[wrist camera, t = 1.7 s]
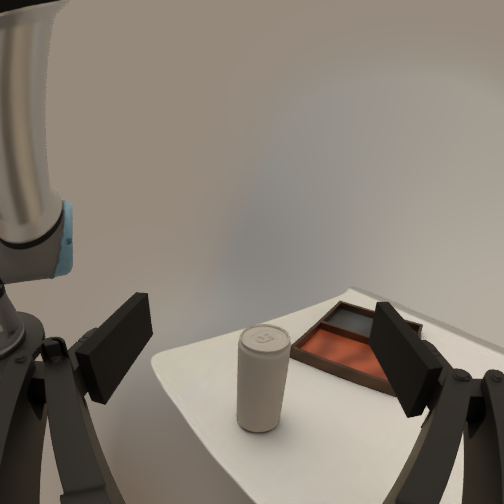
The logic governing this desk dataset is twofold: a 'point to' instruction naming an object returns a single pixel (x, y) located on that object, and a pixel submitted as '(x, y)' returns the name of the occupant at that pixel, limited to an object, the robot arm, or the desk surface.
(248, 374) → the beverage can
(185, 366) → the desk surface
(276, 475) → the desk surface
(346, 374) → the sorting tray
